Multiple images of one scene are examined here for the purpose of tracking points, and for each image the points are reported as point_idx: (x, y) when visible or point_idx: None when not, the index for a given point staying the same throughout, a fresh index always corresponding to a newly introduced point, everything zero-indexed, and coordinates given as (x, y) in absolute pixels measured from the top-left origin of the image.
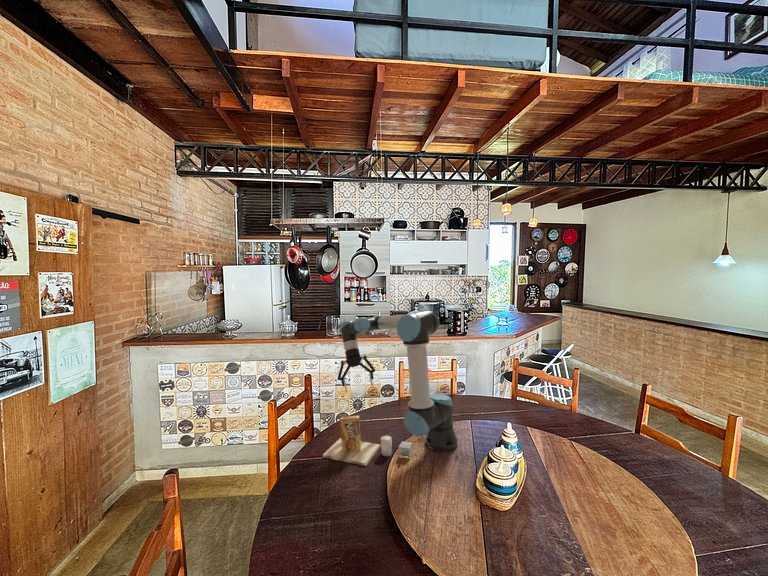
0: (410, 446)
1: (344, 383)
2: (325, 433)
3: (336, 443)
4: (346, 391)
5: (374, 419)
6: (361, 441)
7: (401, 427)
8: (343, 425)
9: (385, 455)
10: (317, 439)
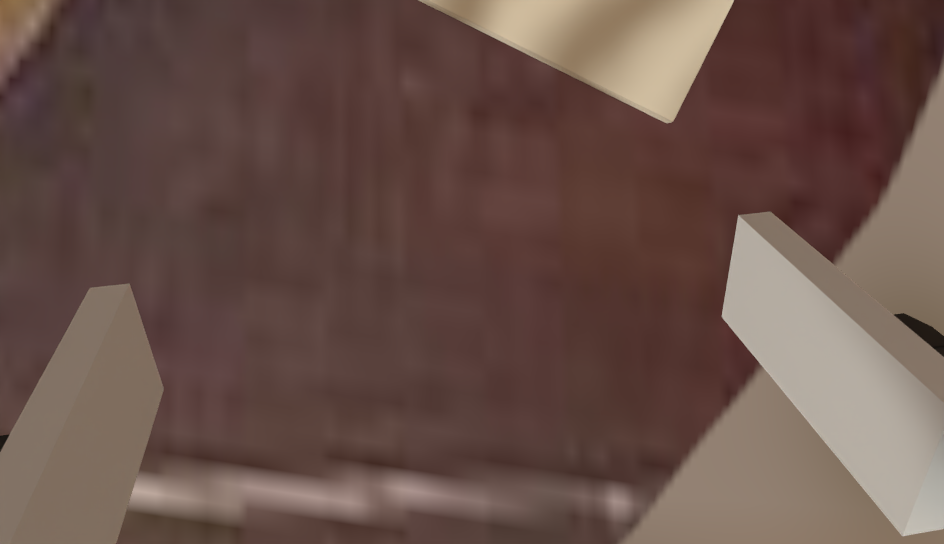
0: None
1: (898, 328)
2: None
3: (705, 14)
4: (761, 220)
5: (340, 496)
6: (462, 16)
7: (70, 284)
8: None
9: None
10: (889, 173)
